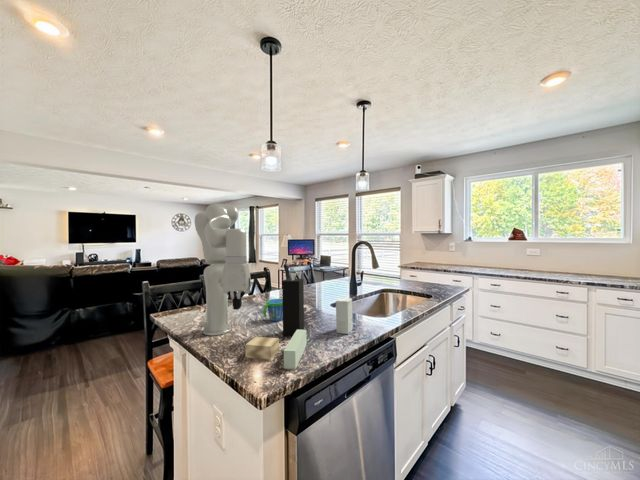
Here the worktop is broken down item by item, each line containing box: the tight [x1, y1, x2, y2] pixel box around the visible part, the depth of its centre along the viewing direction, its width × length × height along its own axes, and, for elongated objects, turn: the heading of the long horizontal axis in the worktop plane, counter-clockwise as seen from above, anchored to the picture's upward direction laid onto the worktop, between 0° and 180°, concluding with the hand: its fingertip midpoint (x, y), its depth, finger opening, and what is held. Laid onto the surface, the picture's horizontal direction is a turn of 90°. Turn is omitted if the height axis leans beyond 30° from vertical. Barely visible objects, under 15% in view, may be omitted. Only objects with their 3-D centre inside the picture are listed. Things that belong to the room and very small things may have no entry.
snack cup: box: [262, 298, 283, 322], centre depth 144 cm, size 16×10×10 cm
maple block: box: [244, 336, 280, 361], centre depth 101 cm, size 10×8×5 cm
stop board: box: [283, 329, 307, 370], centre depth 100 cm, size 4×21×6 cm, turn 173°
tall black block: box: [281, 272, 305, 338], centre depth 122 cm, size 8×8×28 cm
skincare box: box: [335, 297, 354, 335], centre depth 125 cm, size 8×6×15 cm
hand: (237, 308), depth 102 cm, fingers closed
